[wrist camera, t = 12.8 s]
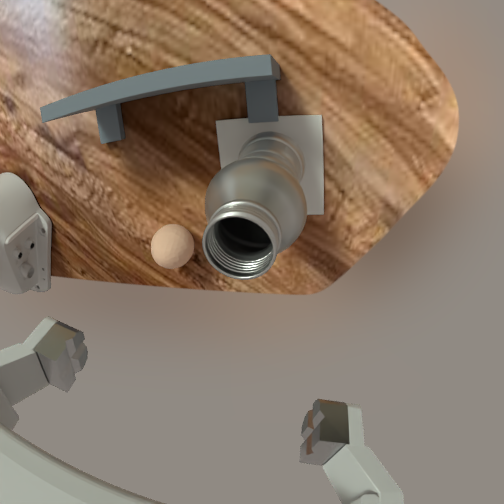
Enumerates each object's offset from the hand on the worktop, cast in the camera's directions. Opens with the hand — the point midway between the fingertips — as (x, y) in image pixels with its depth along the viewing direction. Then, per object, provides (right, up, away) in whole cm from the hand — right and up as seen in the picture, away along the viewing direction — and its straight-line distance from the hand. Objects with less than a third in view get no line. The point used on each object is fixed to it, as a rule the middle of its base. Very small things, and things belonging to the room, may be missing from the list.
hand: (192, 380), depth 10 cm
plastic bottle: (+4, +14, +23) cm, 27 cm away
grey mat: (+4, +13, +24) cm, 28 cm away
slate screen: (-6, +20, +22) cm, 30 cm away
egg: (-7, +6, +30) cm, 31 cm away
